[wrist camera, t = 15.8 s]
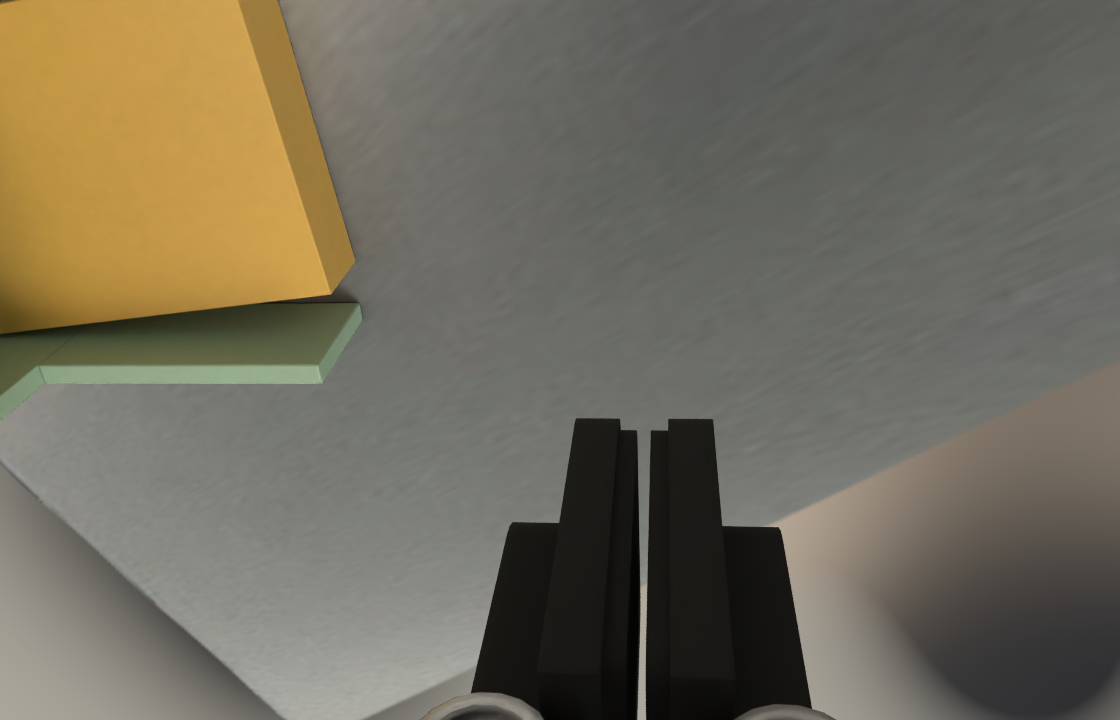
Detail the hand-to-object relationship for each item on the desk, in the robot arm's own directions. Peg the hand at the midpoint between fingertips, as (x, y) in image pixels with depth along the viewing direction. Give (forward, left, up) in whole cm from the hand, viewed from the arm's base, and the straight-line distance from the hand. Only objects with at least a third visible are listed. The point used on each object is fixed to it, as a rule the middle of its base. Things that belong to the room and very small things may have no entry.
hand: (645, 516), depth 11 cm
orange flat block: (+13, -15, -22) cm, 29 cm away
